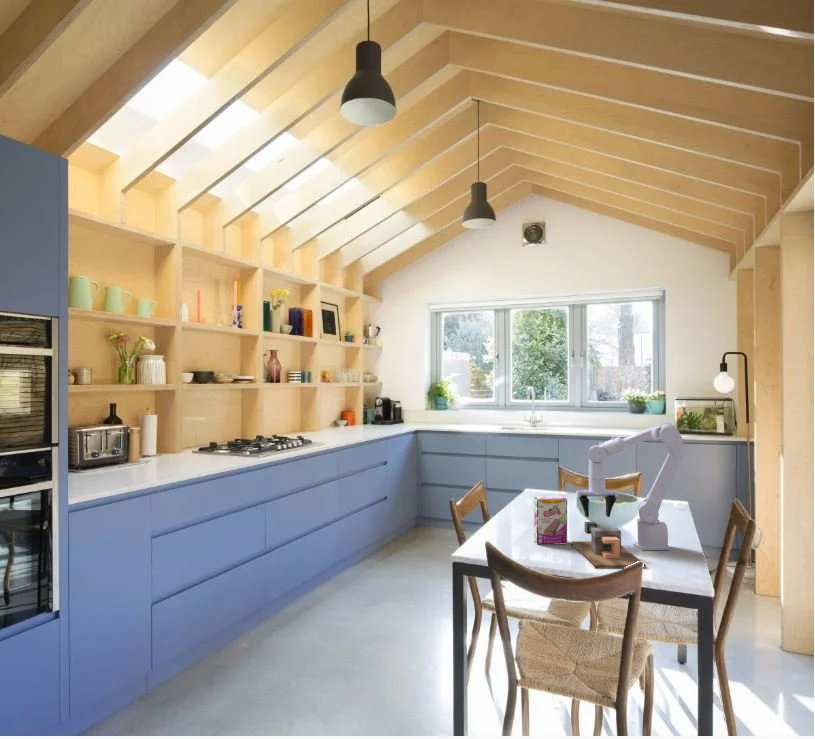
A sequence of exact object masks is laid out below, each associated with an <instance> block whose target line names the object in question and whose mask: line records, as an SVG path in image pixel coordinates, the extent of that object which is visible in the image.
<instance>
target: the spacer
mask: <svg viewBox="0 0 815 739" xmlns="http://www.w3.org/2000/svg"><path fill="white" fill-rule="evenodd" d="M601 540H602V541H603V542H604V543H611V551H602V556H603V557H604V558H620V539H618V538H617V537H601Z"/></svg>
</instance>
